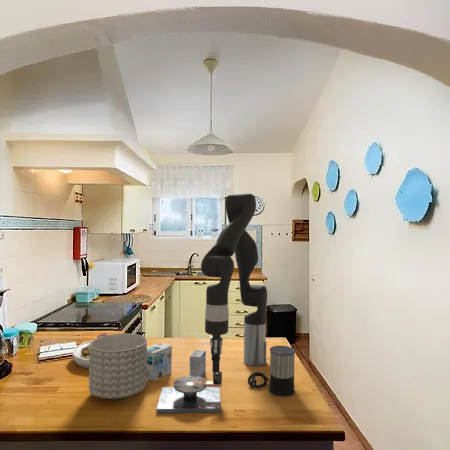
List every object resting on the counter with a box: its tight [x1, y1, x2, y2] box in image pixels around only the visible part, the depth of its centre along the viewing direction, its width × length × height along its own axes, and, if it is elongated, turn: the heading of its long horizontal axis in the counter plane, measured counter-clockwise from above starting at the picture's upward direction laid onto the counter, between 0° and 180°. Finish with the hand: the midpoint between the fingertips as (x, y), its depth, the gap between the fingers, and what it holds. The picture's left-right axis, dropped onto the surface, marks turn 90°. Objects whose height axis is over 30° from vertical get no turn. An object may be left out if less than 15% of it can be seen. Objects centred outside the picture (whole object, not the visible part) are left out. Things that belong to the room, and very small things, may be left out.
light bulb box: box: [147, 342, 173, 382], centre depth 141 cm, size 11×7×11 cm, turn 148°
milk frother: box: [247, 345, 296, 398], centre depth 131 cm, size 14×16×15 cm
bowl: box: [72, 333, 108, 370], centre depth 158 cm, size 30×30×8 cm
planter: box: [88, 332, 148, 401], centre depth 125 cm, size 19×19×18 cm
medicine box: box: [189, 349, 207, 378], centre depth 141 cm, size 8×4×9 cm, turn 168°
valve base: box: [156, 386, 222, 415], centre depth 120 cm, size 20×15×5 cm
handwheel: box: [173, 370, 223, 393], centre depth 120 cm, size 16×11×4 cm
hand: (215, 371), depth 116 cm, fingers closed
